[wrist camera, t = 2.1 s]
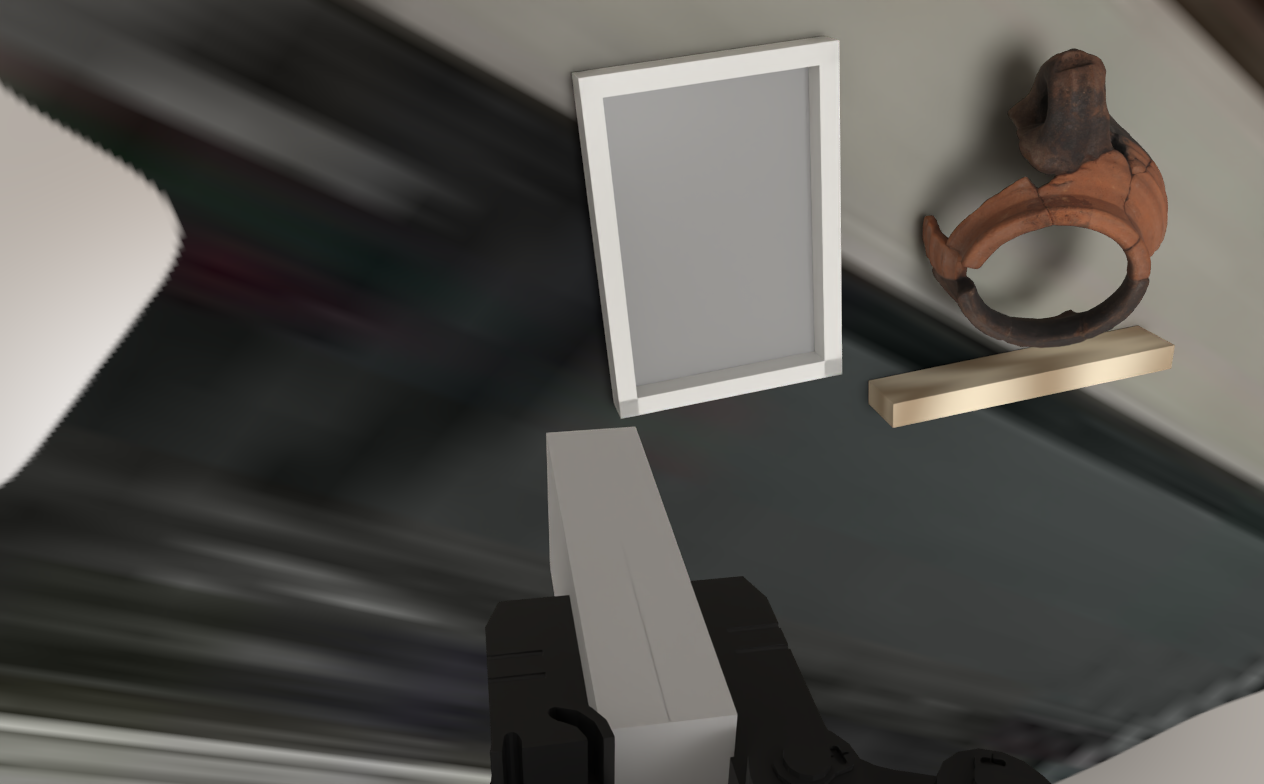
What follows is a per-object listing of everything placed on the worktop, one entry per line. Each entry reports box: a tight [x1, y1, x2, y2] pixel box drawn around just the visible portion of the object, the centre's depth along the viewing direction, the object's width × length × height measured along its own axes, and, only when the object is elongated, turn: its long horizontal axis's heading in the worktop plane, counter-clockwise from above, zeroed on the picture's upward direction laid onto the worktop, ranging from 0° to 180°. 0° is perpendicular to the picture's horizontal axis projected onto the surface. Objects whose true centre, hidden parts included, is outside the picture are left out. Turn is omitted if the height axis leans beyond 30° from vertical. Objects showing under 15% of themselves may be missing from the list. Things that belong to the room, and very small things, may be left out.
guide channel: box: [869, 326, 1175, 428], centre depth 41 cm, size 14×19×2 cm
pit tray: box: [571, 36, 842, 419], centre depth 40 cm, size 10×14×2 cm
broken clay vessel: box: [923, 49, 1168, 348], centre depth 40 cm, size 12×10×8 cm
